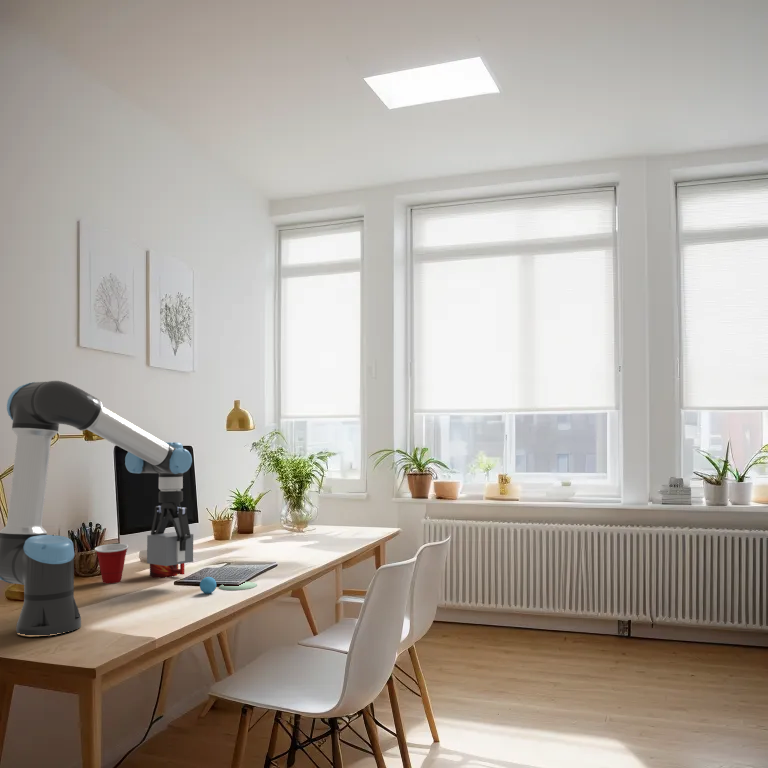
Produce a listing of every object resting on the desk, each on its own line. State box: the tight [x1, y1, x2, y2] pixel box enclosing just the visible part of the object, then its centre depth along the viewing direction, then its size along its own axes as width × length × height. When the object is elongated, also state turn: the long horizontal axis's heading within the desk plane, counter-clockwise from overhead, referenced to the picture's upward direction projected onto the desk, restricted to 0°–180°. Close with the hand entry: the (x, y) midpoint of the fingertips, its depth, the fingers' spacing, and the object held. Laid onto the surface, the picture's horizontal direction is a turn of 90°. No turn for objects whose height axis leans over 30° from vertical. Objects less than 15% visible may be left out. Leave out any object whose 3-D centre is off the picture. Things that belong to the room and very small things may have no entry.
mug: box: [149, 563, 185, 579], centre depth 262 cm, size 10×14×12 cm
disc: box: [218, 581, 258, 591], centre depth 240 cm, size 12×12×1 cm
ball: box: [199, 576, 217, 595], centre depth 231 cm, size 5×5×5 cm
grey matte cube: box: [146, 531, 194, 566], centre depth 240 cm, size 10×10×9 cm
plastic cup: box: [94, 543, 129, 584], centre depth 252 cm, size 11×11×12 cm
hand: (170, 559), depth 240 cm, fingers closed on grey matte cube, 10 cm apart
